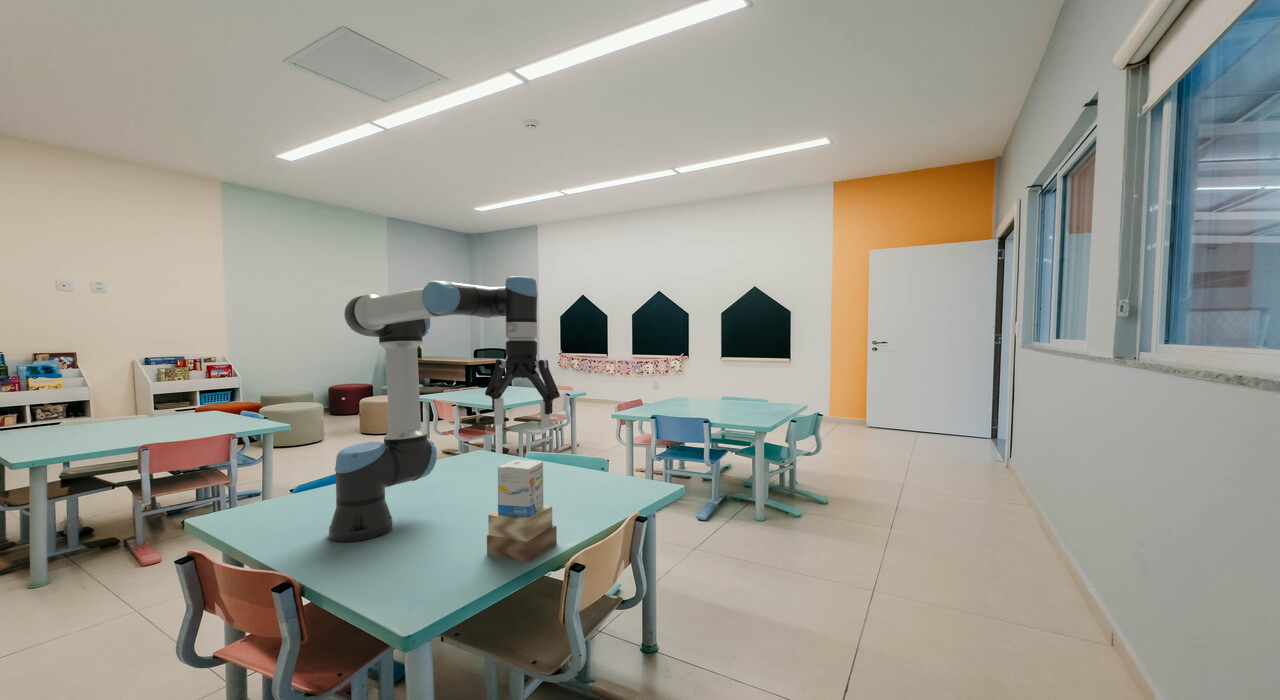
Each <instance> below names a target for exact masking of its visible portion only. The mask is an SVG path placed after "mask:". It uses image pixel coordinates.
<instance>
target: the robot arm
mask: <svg viewBox="0 0 1280 700" xmlns="http://www.w3.org/2000/svg"><path fill="white" fill-rule="evenodd" d="M537 287H538V285H537V281H536V279H535V278H533V277H531V276H525V275H523V276H520V275H512V276H509V277H508V276H507V277H506V279H505V284H504V286H485V285H475V284H469V283H468V284H466V283H458V282H451V281H449V280H432V281H428V282H427V285H425V286H424V287H419V288H415V289H414V288H413V289H410V290H404V291H400V292H394V293H390V294H383V295H377V294H371V293H370V294H364V295H358V296H355V297H354V298H352V299H350V300H349V302H347V304H346V306H345V308H344V312H343V313H344V320H345V322H346V324H347V326H348V327H349V328H350V329H351V330H352V331H354V332H355V333H356V334H358V335H361V336H365V337H373V338H374V337H375V338H378V342H379V345H380V346H381V347H382V348H383V349H384V350H385V369H386V371H385V372H386V388H387V390H386V392H387V411H388V412H387V413H388V432H387V434H385V435H384V437H383V442H382V441H367V442H361V443H356V444H353V445H350V446H347V447H345V448H342V449H341V450H340V451H339V452H338V453H337V455H336V458H335V459H336V460H335V467H334V472H335V496H336V497H335V498H336V499H335V500H336V501H335V503H336V506H335V510H334V514H333V517H332V520H331V523H330V525H329V527H328V539H330V540H331V541H334V542H341V543H350V542H359V541H360V542H361V541H366V540H369V539H374V538H378V537H380V536H382V535H385V534H387V533H388V532H390V531H391V530H392V529H393V517H392V516H391V512H390V509H389V507H388V503H387V501H386V488H389V487H392V486H395V485H400V484H405V483H407V482H414V481H417V480H419V479H423V478H426V477H427V476H429V475H430V474H431V473H432V471H433V470H434V468H435V466H436V463H437V456H438V454H437V452H438V451H437V447H436V445H435V443H434V442H433V440H432V439H430V438H428V432H426V431H425V430H424V429H422V422H421V421H422V420H421V419H422V418H421V417H422V416H421V401H420V399H421V398H420V380H419V379H420V378H419V358H418V353H419V352H418V348H419V347H420V345H422V344H423V338H424V337H425V336H426V335H428V334H429V329H430V328H431V318H437V317H438V318H439V317H447V316H456V315H458V316H471V317H472V316H473V317H479V318H486V319H490V318H496V317H505V338H506V339H508V340H507V341H506V342H505V355H506V357H507V358H506V359H505V358H500V359H499V358H498V359H496V360H495V366H494V367H495V368H494V370H493V372H492V374H491V376H490V379H489V382H488V384H487V387H486V389H485V392H484V394H485V396H488V397H490V398H491V406H492V407H491V408H492V411H493V412H494V416H493V419H494V426H500V425H504V424H505V423H504V421H505V420H504V416H505V415H504V414H505V413H504V409H505V408H504V407H505V406H504V397H503V396H502V395H503V394H504V392H505V391H506V390H507V389H508V387H509V386H510V384H511V383H512V381H513V380H514V379H517V378H521V379H528V380H529V381H530V382H531V384H533V387H534V388H535V389H536V390H537V392H538V393H539V395H540V396H541V397H542V401H540V429H544V430H545V429H548V428H550V425H551V418H550V417H551V416H550V415H552V413H553V401H554V400H555V399H558V398H560V397H561V394H560V392H559V389H558V387H557V384H556V383H555V380H554V378H553V375H552V373H551V371H550V367H549V361H548V360H547V359H539V360H537V356H538V342H537V340H535V339H537V338H538V319H537V318H538V313H537V312H538V297H539V296H538V288H537ZM506 368H507V371H506V372H505V370H506ZM537 368H538V371H539V373H538V371H537V370H536V369H537ZM504 372H505V373H504ZM540 375H541V376H540ZM502 377H503V378H502ZM541 378H542V379H541Z"/></svg>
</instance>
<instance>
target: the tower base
mask: <svg viewBox="0 0 1280 700" xmlns="http://www.w3.org/2000/svg"><path fill="white" fill-rule="evenodd" d="M557 530H558V529H557V525H554V524H552V527H550V528H549V529H547V530H545V531H544V532H542V533H541V534H539V535H537V536H536V537H534V538H532V539H531V540H529V541H528V542H525V541H519V540H513V539H507V538H501V537H495V536H489V534H487V535H486V555H487V556H492V555H493V557H497V556H498V558H502V557H505V558H504V559H507V558H508V559H509V560H512V559H513V560H514V561H519V562H523V563H530V562H532V561H533V560H535V559H536V558H538V557H539V556H541V555H542V554H543V553H545V552H546V551H548V550H550V549H551V548H553V547H554V546H556V545H557V544H558V543H557V542H558V541H557V537H558V536H557V535H558V534H557Z"/></svg>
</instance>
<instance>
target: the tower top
mask: <svg viewBox="0 0 1280 700" xmlns="http://www.w3.org/2000/svg"><path fill="white" fill-rule="evenodd" d="M487 517H488V519H487V520H488V521H487V522H488V535H489V536H495V537H501V538H507V539H513V540H519V541H525V542H528V541H529V540H531V539H532V538H534V537H536V536H537V535H539V534H541V533H542V532H544V531H545V530H547V529H549V528H550V527H552V525H553V506H552V505H544V504H543V507H542V508H541V509H539V510H538V511H537V512H535V513H534V514H532V515H531V516H530V517H521V516H509V515H498V510H496V511H493V512H491V513H489V514H488V516H487Z"/></svg>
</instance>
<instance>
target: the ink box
mask: <svg viewBox="0 0 1280 700" xmlns="http://www.w3.org/2000/svg"><path fill="white" fill-rule="evenodd" d="M543 505H544V461H542V460H531V459H530V460H529V459H519V460H516V459H514V460H512V461H509V462H506V463H504V464H502V465H499V466H498V467H497V511H498V515H509V516H521V517H530V516H531V515H532V514H534V513H535V512H537V511H538V510H539V509H541V508H542V507H543Z"/></svg>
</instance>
